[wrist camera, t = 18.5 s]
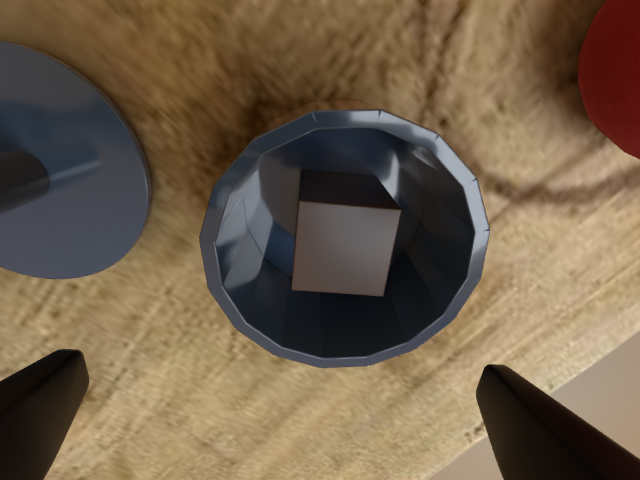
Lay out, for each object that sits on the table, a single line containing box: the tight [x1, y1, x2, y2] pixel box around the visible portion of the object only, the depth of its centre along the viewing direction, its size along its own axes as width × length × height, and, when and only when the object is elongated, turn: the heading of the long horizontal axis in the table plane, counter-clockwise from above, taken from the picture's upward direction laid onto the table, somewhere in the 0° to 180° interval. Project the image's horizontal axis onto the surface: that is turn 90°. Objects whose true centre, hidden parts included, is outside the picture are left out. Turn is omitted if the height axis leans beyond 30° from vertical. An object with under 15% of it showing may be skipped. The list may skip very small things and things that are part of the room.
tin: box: [199, 100, 490, 368], centre depth 16 cm, size 11×11×6 cm
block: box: [291, 169, 402, 296], centre depth 16 cm, size 4×4×5 cm
